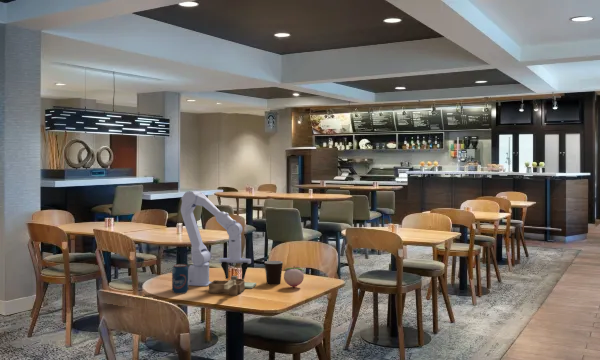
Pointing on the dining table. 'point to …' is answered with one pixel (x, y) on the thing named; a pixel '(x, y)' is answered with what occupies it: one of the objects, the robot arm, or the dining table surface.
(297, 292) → the dining table surface
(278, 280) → the coffee mug
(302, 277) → the decorative fruit
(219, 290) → the toolbox
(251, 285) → the lid
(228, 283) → the key
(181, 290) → the soda can
